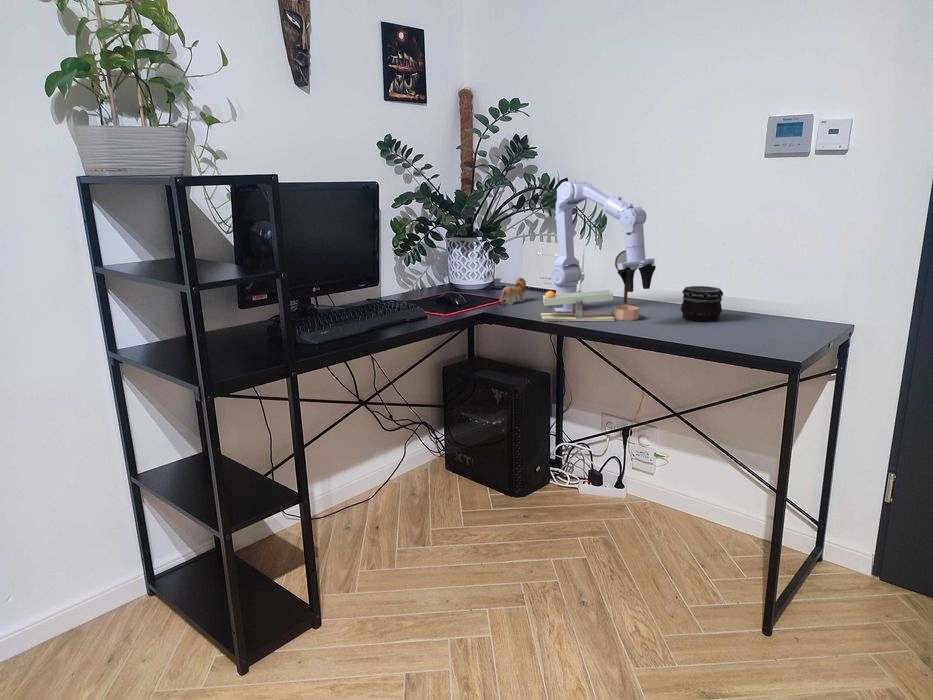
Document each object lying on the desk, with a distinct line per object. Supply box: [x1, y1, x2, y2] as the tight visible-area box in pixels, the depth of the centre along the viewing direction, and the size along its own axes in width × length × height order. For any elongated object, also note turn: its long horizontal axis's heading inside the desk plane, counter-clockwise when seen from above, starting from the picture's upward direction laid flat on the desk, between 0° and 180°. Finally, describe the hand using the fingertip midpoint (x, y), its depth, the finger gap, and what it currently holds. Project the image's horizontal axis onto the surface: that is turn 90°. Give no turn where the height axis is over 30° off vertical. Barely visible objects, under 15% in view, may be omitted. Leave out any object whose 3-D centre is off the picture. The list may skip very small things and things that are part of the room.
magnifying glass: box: [614, 249, 640, 305], centre depth 236 cm, size 9×2×20 cm, turn 93°
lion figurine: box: [499, 277, 527, 306], centre depth 246 cm, size 15×5×9 cm, turn 143°
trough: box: [542, 289, 614, 310], centre depth 220 cm, size 12×23×4 cm, turn 88°
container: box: [680, 285, 724, 323], centre depth 215 cm, size 13×13×10 cm
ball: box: [544, 290, 556, 298], centre depth 218 cm, size 4×4×4 cm
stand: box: [540, 300, 616, 323], centre depth 218 cm, size 11×23×7 cm, turn 88°
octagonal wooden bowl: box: [612, 304, 640, 322], centre depth 218 cm, size 8×8×4 cm
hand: (638, 290), depth 208 cm, fingers open, 7 cm apart
